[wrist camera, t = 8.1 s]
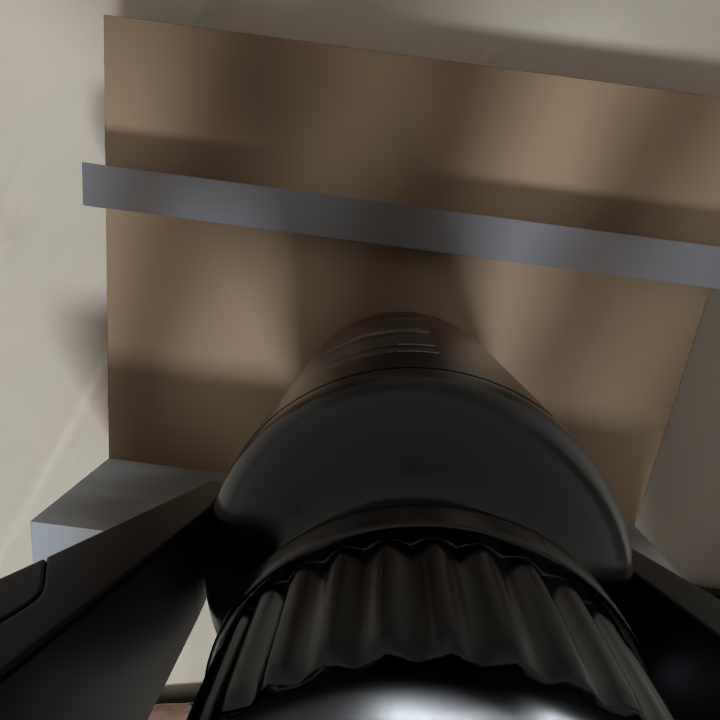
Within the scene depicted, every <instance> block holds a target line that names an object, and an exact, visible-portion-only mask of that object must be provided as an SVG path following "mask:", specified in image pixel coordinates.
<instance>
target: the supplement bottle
mask: <svg viewBox="0 0 720 720" xmlns="http://www.w3.org/2000/svg"><path fill="white" fill-rule="evenodd" d="M204 576H205V586H206V594H207V601H208V605H209V609H210V614H211V618H212V622H213V625H214V628H215V631H216V634H217V637H216V639H215V642H214V644H213V647H212V650H211V653H210V656H209V659H208V663H207V667H206V672H205V678H204V680H203V683H202V685H201V687H200V689H199V692H198V694H197V696H196V698H195V701H194V703H193V705H192V708H191V710H190V712H189V714H188V717H187V719H186V720H677V719H676V717H675V715H674V714H673V712H672V710H671V709H670V707H669V706H668V704H667V702H666V701H665V699H664V698H663V696H662V694H661V693H660V691H659V690H658V688H657V686H656V685H655V683H654V682H653V680H652V676H651V673H650V669H649V666H648V663H647V660H646V657H645V655H644V653H643V650H642V648H641V646H640V644H639V642H638V640H637V638H636V636H635V635H634V633H633V631H632V629H631V628H630V626H629V624H628V623H629V619H630V614H631V606H632V598H633V560H632V551H631V544H630V539H629V534H628V530H627V526H626V522H625V519H624V516H623V514H622V511H621V508H620V505H619V503H618V500H617V498H616V496H615V494H614V492H613V490H612V488H611V486H610V484H609V482H608V480H607V479H606V477H605V475H604V474H603V472H602V471H601V469H600V468H599V466H598V465H597V463H596V462H595V461H594V459H593V458H592V457H591V456H590V454H589V453H588V452H587V451H586V450H585V448H584V447H583V446H582V445H581V443H580V442H579V441H578V440H577V439H576V438H575V437H574V436H573V435H572V434H571V433H570V432H569V431H568V430H567V429H566V428H565V427H564V426H563V425H562V424H561V423H560V422H559V421H558V420H557V419H556V418H555V417H554V416H553V415H552V414H551V413H550V412H549V411H548V410H547V409H546V408H545V407H544V406H543V405H542V404H541V403H540V402H539V401H538V400H537V399H536V398H535V397H534V396H533V395H532V394H531V393H530V392H529V391H528V390H527V389H526V388H525V387H524V386H523V385H522V384H521V383H520V382H519V381H517V380H516V379H515V378H514V377H513V376H512V375H511V374H510V373H509V372H508V371H507V370H506V369H505V368H504V367H503V366H502V365H501V364H500V363H499V362H498V361H497V360H496V359H495V358H494V357H493V356H492V355H491V354H490V353H489V352H488V351H487V350H486V349H485V348H483V347H482V346H481V345H480V344H479V343H478V342H477V341H476V340H475V339H473V338H472V337H471V336H470V335H468V334H467V333H466V332H465V331H463V330H461V329H460V328H458V327H457V326H455V325H453V324H451V323H449V322H447V321H445V320H442V319H440V318H437V317H434V316H431V315H427V314H422V313H417V312H406V311H399V312H386V313H380V314H376V315H372V316H369V317H366V318H363V319H360V320H358V321H356V322H354V323H352V324H350V325H348V326H346V327H345V328H343V329H342V330H340V331H339V332H337V333H336V334H334V335H333V336H332V337H331V338H330V339H329V340H328V341H326V343H325V344H324V345H323V346H322V347H321V348H320V349H319V350H318V351H317V352H316V353H315V355H314V356H313V357H312V359H311V360H310V361H309V362H308V364H307V365H306V366H305V368H304V369H303V370H302V372H301V373H300V374H299V376H298V377H297V378H296V379H295V381H294V382H293V383H292V385H291V386H290V387H289V389H288V390H287V391H286V393H285V394H284V395H283V396H282V398H281V399H280V400H279V402H278V403H277V404H276V406H275V407H274V408H273V410H272V411H271V412H270V414H269V415H268V416H267V417H266V419H265V420H264V421H263V423H262V424H261V425H260V427H259V428H258V429H257V431H256V432H255V433H254V435H253V436H252V437H251V438H250V440H249V441H248V442H247V444H246V445H245V446H244V448H243V449H242V451H241V452H240V454H239V456H238V457H237V459H236V461H235V462H234V464H233V465H232V467H231V469H230V470H229V472H228V474H227V476H226V477H225V479H224V481H223V484H222V486H221V488H220V490H219V492H218V494H217V497H216V500H215V503H214V506H213V509H212V512H211V515H210V520H209V524H208V529H207V533H206V542H205V551H204Z"/></svg>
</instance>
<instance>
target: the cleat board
mask: <svg viewBox="0 0 720 720" xmlns="http://www.w3.org/2000/svg"><path fill="white" fill-rule="evenodd" d="M104 69H105V153H106V165H99V164H91V163H84V162H82V176H83V205H87V206H93V207H100V208H106V238H107V322H108V407H109V459H108V460H106V461H105V462H104V463H103V464H101V465H100V466H99V467H98V468H96V469H95V470H94V471H93V472H91V473H90V474H89V475H88V476H86V477H85V478H84V479H83V480H81V481H80V482H79V483H78V484H76V485H75V486H74V487H73V488H72V489H70V490H69V491H68V492H67V493H65V494H64V495H63V496H62V497H60V498H59V499H58V500H57V501H55V502H54V503H53V504H52V505H50V506H49V507H48V508H47V509H45V510H44V511H43V512H42V513H40V514H39V515H38V516H37V517H35V518H34V519H33V520H32V521H30V522H31V539H32V555H33V564H34V563H36V562H38V561H40V560H45V561H46V559H47V558H48V557H49V556H51V555H53V554H55V553H57V552H60V551H62V550H64V549H66V548H68V547H70V546H72V545H75V544H77V543H79V542H81V541H83V540H85V539H87V538H90V537H92V536H94V535H96V534H98V533H100V532H102V531H105V530H107V529H109V528H111V527H113V526H115V525H117V524H120V523H122V522H124V521H126V520H128V519H130V518H132V517H135V516H137V515H139V514H141V513H143V512H145V511H147V510H150V509H152V508H154V507H156V506H158V505H160V504H162V503H165V502H167V501H169V500H171V499H173V498H175V497H177V496H179V495H182V494H184V493H186V492H188V491H190V490H192V489H194V488H197V487H199V486H201V485H203V484H205V483H207V482H209V481H212V480H218V481H224V479H225V477H226V476H227V474H228V472H229V470H230V469H231V467H232V465H233V464H234V462H235V461H236V459H237V457H238V456H239V454H240V452H241V451H242V449H243V448H244V446H245V445H246V444H247V442H248V441H249V440H250V438H251V437H252V436H253V435H254V433H255V432H256V431H257V429H258V428H259V427H260V425H261V424H262V423H263V421H264V420H265V419H266V417H267V416H268V415H269V414H270V412H271V411H272V410H273V408H274V407H275V406H276V404H277V403H278V402H279V400H280V399H281V398H282V396H283V395H284V394H285V393H286V391H287V390H288V389H289V387H290V386H291V385H292V383H293V382H294V381H295V379H296V378H297V377H298V376H299V374H300V373H301V372H302V370H303V369H304V368H305V366H306V365H307V364H308V362H309V361H310V360H311V359H312V357H313V356H314V355H315V353H316V352H317V351H318V350H319V349H320V348H321V347H322V346H323V345H324V344H325V343H326V341H328V340H329V339H330V338H331V337H332V336H333V335H334V334H336V333H337V332H339V331H340V330H342V329H343V328H345V327H346V326H348V325H350V324H352V323H354V322H356V321H358V320H360V319H363V318H366V317H369V316H372V315H376V314H380V313H386V312H399V311H406V312H417V313H422V314H427V315H431V316H434V317H437V318H440V319H442V320H445V321H447V322H449V323H451V324H453V325H455V326H457V327H458V328H460V329H461V330H463V331H465V332H466V333H467V334H468V335H470V336H471V337H472V338H473V339H475V340H476V341H477V342H478V343H479V344H480V345H481V346H482V347H483V348H485V349H486V350H487V351H488V352H489V353H490V354H491V355H492V356H493V357H494V358H495V359H496V360H497V361H498V362H499V363H500V364H501V365H502V366H503V367H504V368H505V369H506V370H507V371H508V372H509V373H510V374H511V375H512V376H513V377H514V378H515V379H516V380H517V381H519V382H520V383H521V384H522V385H523V386H524V387H525V388H526V389H527V390H528V391H529V392H530V393H531V394H532V395H533V396H534V397H535V398H536V399H537V400H538V401H539V402H540V403H541V404H542V405H543V406H544V407H545V408H546V409H547V410H548V411H549V412H550V413H551V414H552V415H553V416H554V417H555V418H556V419H557V420H558V421H559V422H560V423H561V424H562V425H563V426H564V427H565V428H566V429H567V430H568V431H569V432H570V433H571V434H572V435H573V436H574V437H575V438H576V439H577V440H578V441H579V442H580V443H581V445H582V446H583V447H584V448H585V450H586V451H587V452H588V453H589V454H590V456H591V457H592V458H593V459H594V461H595V462H596V463H597V465H598V466H599V468H600V469H601V471H602V472H603V474H604V475H605V477H606V479H607V480H608V482H609V484H610V486H611V488H612V490H613V492H614V494H615V496H616V498H617V500H618V503H619V505H620V508H621V511H622V514H623V516H624V519H625V522H626V526H627V530H628V534H629V539H630V544H631V548H632V549H634V550H636V551H637V552H639V553H641V554H643V555H644V556H646V557H648V558H649V559H651V560H653V561H655V562H656V563H658V564H660V565H661V566H663V567H665V568H667V569H668V570H670V571H672V572H673V573H675V574H677V575H679V576H680V577H682V576H681V575H680V574H679V573H678V572H677V570H676V569H675V568H674V567H673V566H672V565H671V564H670V563H669V562H668V561H667V560H666V559H665V558H664V557H663V556H662V555H661V553H660V552H659V551H658V550H657V549H656V548H655V547H654V546H653V545H652V544H651V543H650V542H649V541H648V540H647V539H646V538H645V536H644V535H643V534H642V533H641V532H640V531H639V530H638V529H637V528H636V527H635V523H636V519H637V516H638V513H639V510H640V507H641V504H642V501H643V498H644V494H645V491H646V488H647V485H648V482H649V479H650V476H651V472H652V469H653V466H654V463H655V460H656V457H657V454H658V451H659V447H660V444H661V441H662V438H663V435H664V432H665V429H666V425H667V422H668V419H669V416H670V413H671V410H672V407H673V403H674V400H675V397H676V394H677V391H678V388H679V385H680V382H681V378H682V375H683V372H684V369H685V366H686V363H687V360H688V356H689V353H690V350H691V347H692V344H693V341H694V338H695V334H696V331H697V328H698V325H699V322H700V319H701V316H702V313H703V309H704V306H705V303H706V300H707V297H708V294H709V291H710V288H713V289H720V98H718V97H711V96H704V95H696V94H689V93H681V92H674V91H666V90H659V89H652V88H644V87H637V86H629V85H622V84H615V83H607V82H600V81H592V80H585V79H577V78H570V77H563V76H555V75H548V74H540V73H533V72H526V71H518V70H511V69H503V68H496V67H488V66H481V65H474V64H466V63H459V62H451V61H444V60H437V59H429V58H422V57H414V56H407V55H400V54H392V53H385V52H377V51H370V50H362V49H355V48H348V47H340V46H333V45H325V44H318V43H311V42H303V41H296V40H288V39H281V38H273V37H266V36H259V35H251V34H244V33H236V32H229V31H222V30H214V29H207V28H199V27H192V26H184V25H177V24H170V23H162V22H155V21H147V20H140V19H133V18H125V17H118V16H110V15H104ZM682 578H683V577H682Z"/></svg>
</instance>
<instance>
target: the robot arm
mask: <svg viewBox="0 0 720 720" xmlns="http://www.w3.org/2000/svg"><path fill="white" fill-rule="evenodd" d="M222 484H223V481H218V480H212V481H209V482H207V483H205V484H203V485H201V486H199V487H197V488H194V489H192V490H190V491H188V492H186V493H184V494H182V495H179V496H177V497H175V498H173V499H171V500H169V501H167V502H165V503H162V504H160V505H158V506H156V507H154V508H152V509H150V510H147V511H145V512H143V513H141V514H139V515H137V516H135V517H132V518H130V519H128V520H126V521H124V522H122V523H120V524H117V525H115V526H113V527H111V528H109V529H107V530H105V531H102V532H100V533H98V534H96V535H94V536H92V537H90V538H87V539H85V540H83V541H81V542H79V543H77V544H75V545H72V546H70V547H68V548H66V549H64V550H62V551H60V552H57V553H55V554H53V555H51V556H49V557H48V558H47V559H46V561H45V560H40V561H38V562H36V563H34V564H32V565H30V566H27V567H25V568H23V569H21V570H19V571H17V572H14V573H12V574H10V575H8V576H5V577H3V578H1V579H0V720H148V718H149V716H150V714H151V712H152V710H153V708H154V706H155V704H156V702H157V700H158V698H159V696H160V694H161V692H162V690H163V688H164V686H165V684H166V682H167V680H168V678H169V675H170V673H171V671H172V669H173V667H174V665H175V663H176V661H177V659H178V657H179V655H180V653H181V651H182V649H183V647H184V645H185V643H186V641H187V639H188V637H189V635H190V633H191V631H192V629H193V627H194V625H195V623H196V621H197V619H198V616H199V614H200V612H201V610H202V608H203V605H204V603H205V600H206V597H207V594H206V586H205V576H204V551H205V542H206V533H207V529H208V524H209V520H210V515H211V512H212V509H213V506H214V503H215V500H216V497H217V494H218V492H219V490H220V488H221V486H222ZM631 551H632V560H633V598H632V606H631V614H630V619H629V623H628V624H629V626H630V628H631V629H632V631H633V633H634V635H635V636H636V638H637V640H638V642H639V644H640V646H641V648H642V650H643V653H644V655H645V657H646V660H647V663H648V666H649V669H650V673H651V676H652V680H653V682H654V683H655V685H656V686H657V688H658V690H659V691H660V693H661V694H662V696H663V698H664V699H665V701H666V702H667V704H668V706H669V707H670V709H671V710H672V712H673V714H674V715H675V717H676V719H677V720H720V590H718V589H710V588H702V587H697V586H696V585H694V584H692V583H691V582H689V581H687V580H685V579H684V578H682V577H680V576H679V575H677V574H675V573H673V572H672V571H670V570H668V569H667V568H665V567H663V566H661V565H660V564H658V563H656V562H655V561H653V560H651V559H649V558H648V557H646V556H644V555H643V554H641V553H639V552H637V551H636V550H634V549H632V548H631Z"/></svg>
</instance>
